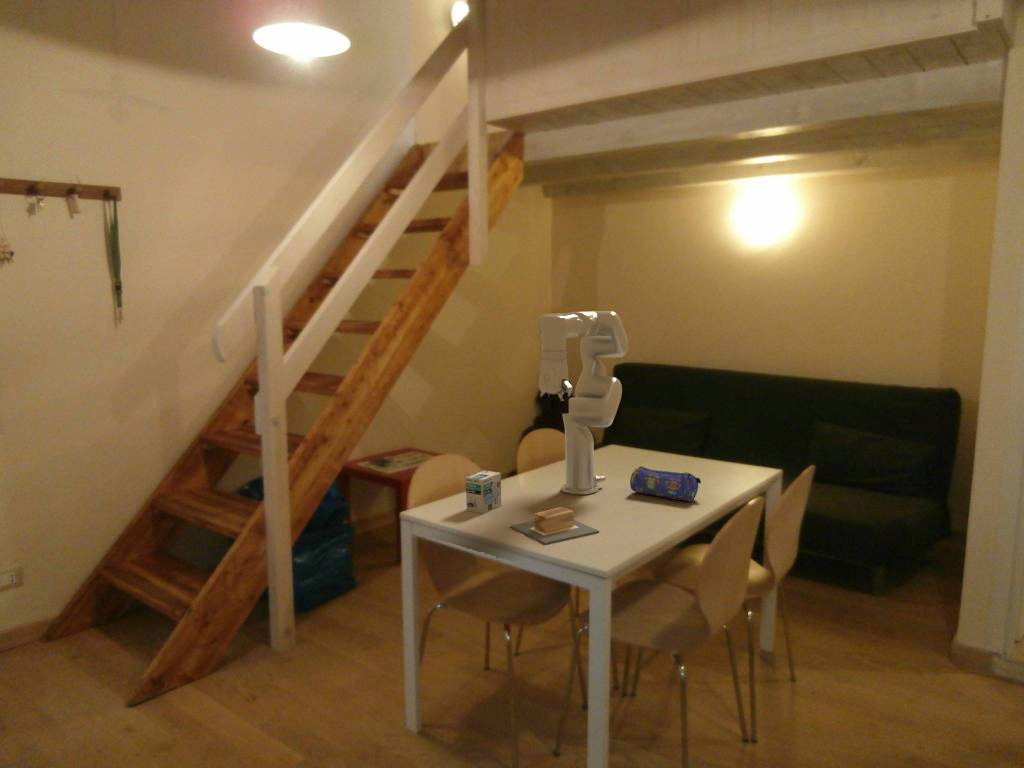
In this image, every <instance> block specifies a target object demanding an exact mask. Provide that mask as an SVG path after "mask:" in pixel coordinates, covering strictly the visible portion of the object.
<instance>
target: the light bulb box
mask: <svg viewBox="0 0 1024 768" xmlns="http://www.w3.org/2000/svg"><path fill="white" fill-rule="evenodd" d="M465 494H466V495H465V497H466V511H467V512H472V513H477V514H478V513H479V514H486V513H488V512H490V511H493V510H495V509H497V508H499V507H501V506H502V473H501V472H498V471H497V472H496V471H490V470H482V471H479V472H477V473H474V474H471V475H469V476H466V477H465Z"/></svg>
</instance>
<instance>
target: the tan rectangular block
mask: <svg viewBox="0 0 1024 768" xmlns="http://www.w3.org/2000/svg"><path fill="white" fill-rule="evenodd" d="M574 512H575V511H574V510H573V509H569V508H567V507H563V506H559V507H554V508H551V509H547V510H544V511H543V510H542V511H539V512H535V513H533V514H534V515H533V517H534V518H533V519H534V520H533V521H534V529H536V530H538V531H541V532H544V533H546V534H548V533H552V532H555V531H559V530H562V529H566V528H570V527H573V526H574V520H575V513H574Z"/></svg>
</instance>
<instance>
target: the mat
mask: <svg viewBox="0 0 1024 768" xmlns="http://www.w3.org/2000/svg"><path fill="white" fill-rule="evenodd" d="M510 528H512V529H514V530H515V531H518V532H519V533H521V534H524V535H525V536H527V537H529V538H532V539H534V540H535V541H538V542H539V543H542V544H543V545H549V544H550V545H551V544H554V543H555V544H556V543H558V542H559V543H560V542H563V541H568V540H571V539H572V540H573V539H576V538H580V537H581V538H582V537H586V536H589V535H594V534H598V533H599V534H600V530H599V529H597V528H594V527H592V526H589V525H587V524H584V523H582V522H579V521H577V520H575V519H574V526H573V527H570V528H566V529H562V530H559V531H555V532H552V533H548V534H546V533H544V532H541V531H538V530H536V529H534V520H531V521H527V522H522V523H516V524H515V523H514V524H512V525H511V524H510Z"/></svg>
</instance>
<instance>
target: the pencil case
mask: <svg viewBox="0 0 1024 768" xmlns="http://www.w3.org/2000/svg"><path fill="white" fill-rule="evenodd" d="M699 484H702V481H701V477H696V476H695V475H694V474H693V473H690V472H688V471H685V472H683V471H682V472H678V471H669V470H657V469H650V468H647V467H644V466H639V467H637V468H635V469H634V471H633V472H632V473H631V476H630V481H629V485H630V489H631V491H632V492H634V493H639V494H646V495H651V496H655V497H661V498H667V499H673V500H679V501H684V502H688V503H693V502H694V500H695V498H696V496H697V494H698V490H699Z"/></svg>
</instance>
